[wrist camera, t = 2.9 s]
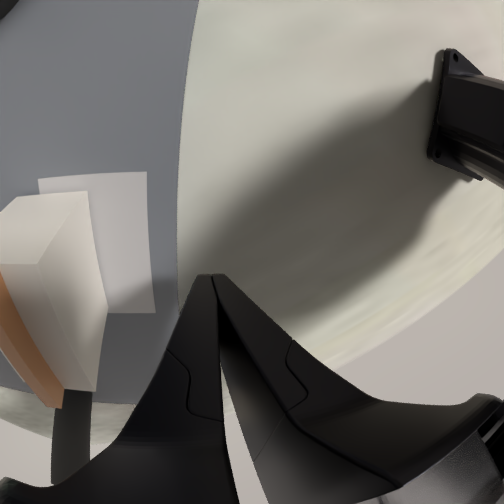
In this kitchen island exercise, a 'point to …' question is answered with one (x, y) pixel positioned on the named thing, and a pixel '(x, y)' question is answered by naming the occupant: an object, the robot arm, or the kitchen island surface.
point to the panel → (104, 155)
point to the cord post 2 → (71, 434)
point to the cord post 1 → (6, 7)
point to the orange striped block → (51, 294)
